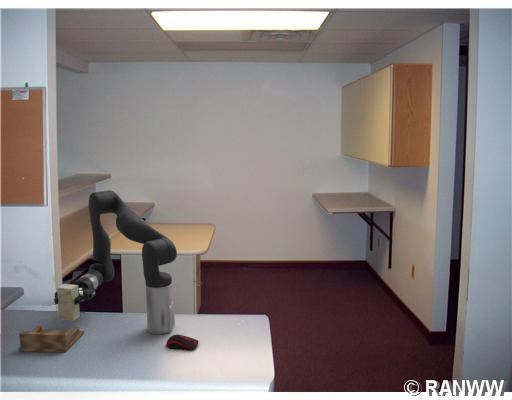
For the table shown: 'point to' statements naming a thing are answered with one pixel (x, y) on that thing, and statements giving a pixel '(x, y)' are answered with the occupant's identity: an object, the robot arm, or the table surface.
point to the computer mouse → (181, 343)
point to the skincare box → (68, 302)
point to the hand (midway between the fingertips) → (65, 301)
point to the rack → (49, 339)
